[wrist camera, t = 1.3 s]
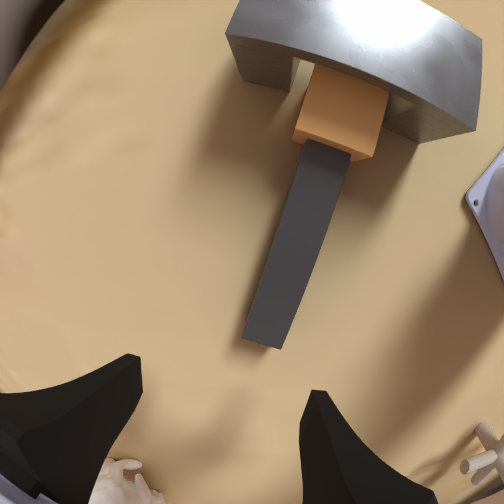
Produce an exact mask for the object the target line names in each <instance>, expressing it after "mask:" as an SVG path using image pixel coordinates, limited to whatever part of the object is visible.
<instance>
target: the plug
mask: <svg viewBox="0 0 504 504" xmlns="http://www.w3.org/2000/svg"><path fill="white" fill-rule="evenodd" d="M388 97H389V92H388V91H386V90H384V89H382V88H379V87H377V86H375V85H372V84H370V83H367V82H365V81H363V80H360V79H358V78H355V77H352V76H350V75H347V74H344V73H342V72H339V71H336V70H333V69H330V68H327V67H324V66H321V65H318V64H315V66H314V70H313V73H312V76H311V79H310V82H309V86H308V89H307V92H306V95H305V98H304V102H303V105H302V108H301V111H300V114H299V117H298V121H297V124H296V127H295V130H294V134H293V137H292V141H295V142H298V143H301V144H303V148H302V151H301V154H300V157H299V160H298V163H297V167H296V170H295V173H294V176H293V179H292V182H291V185H290V189H289V192H288V195H287V198H286V201H285V204H284V207H283V210H282V213H281V217H280V220H279V223H278V226H277V229H276V232H275V235H274V238H273V241H272V244H271V247H270V250H269V253H268V256H267V259H266V262H265V265H264V268H263V271H262V274H261V277H260V280H259V283H258V286H257V289H256V292H255V295H254V298H253V301H252V304H251V307H250V310H249V313H248V316H247V319H246V322H245V326H244V330H243V334H242V338H243V339H246V340H249V341H253V342H256V343H259V344H263V345H266V346H269V347H273V348H276V349H280V350H281V348H282V346H283V343H284V341H285V339H286V336H287V334H288V331H289V329H290V326H291V324H292V322H293V319H294V317H295V314H296V312H297V309H298V307H299V304H300V302H301V299H302V297H303V294H304V291H305V289H306V286H307V284H308V281H309V278H310V276H311V273H312V270H313V268H314V265H315V262H316V260H317V257H318V254H319V251H320V249H321V246H322V243H323V240H324V237H325V235H326V232H327V229H328V226H329V223H330V220H331V217H332V214H333V211H334V208H335V205H336V202H337V199H338V196H339V193H340V190H341V187H342V184H343V181H344V177H345V174H346V171H347V168H348V165H349V161H351V162H356V161H360V160H363V159H367V158H371V157H373V154H374V151H375V147H376V144H377V140H378V136H379V133H380V129H381V125H382V121H383V117H384V113H385V109H386V105H387V101H388Z"/></svg>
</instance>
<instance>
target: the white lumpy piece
mask: <svg viewBox="0 0 504 504" xmlns="http://www.w3.org/2000/svg"><path fill="white" fill-rule="evenodd" d="M141 467H142V463H141V462H140V461H137V460H133V459H122V460H119V461H116V462H115V460H114V459H112V458H106V459H105V461H104V463H103V465H102V468H101V470H100V473H99V475H98V478H97V480H96V483H95V485H94V488H93V491H92V494H91V497H90V500H89V503H88V504H165V502H164V500H166V498H165V497H164V494H163V492H164V491H163V492H162V493H159V492H157V491H156V490H149V488H148V486H147V484H146V482H145V480H144V478H143V477H142V475H141V474H136V475H135V483H133V482H131V481H128V480H125V478H124V477H123V469H127V470H134V469H139V468H141ZM162 494H163V495H162ZM163 499H164V500H163Z"/></svg>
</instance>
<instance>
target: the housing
mask: <svg viewBox="0 0 504 504" xmlns="http://www.w3.org/2000/svg"><path fill="white" fill-rule="evenodd" d="M225 35H226V37H227V40H228V42H229V45H230V47H231V50H232V52H233V55H234V57H235V60H236V63H237V65H238V68H239V71H240V73H241V76H242V79H243V80H244V81H248V82H253V83H257V84H261V85H265V86H269V87H272V88H276V89H280V90H283V91H287V92H290V90H291V87H292V83H293V80H294V77H295V74H296V71H297V68H298V65H299V62H300V59H302V60H305V61H309V62H312V63H315V64H318V65H321V66H324V67H327V68H330V69H333V70H336V71H339V72H342V73H344V74H347V75H350V76H352V77H355V78H358V79H360V80H363V81H365V82H367V83H370V84H372V85H375V86H377V87H379V88H382V89H384V90H386V91H388V92H389V97H388V101H387V105H386V109H385V113H384V117H383V121H382V125H381V126H383V127H385V128H387V129H390V130H392V131H394V132H396V133H398V134H400V135H403V136H405V137H407V138H409V139H411V140H413V141H415V142H417V143H419V144H421V143H425V142H429V141H433V140H437V139H441V138H446V137H450V136H455V135H459V134H464V133H468V132H473V131H476V125H477V118H478V110H479V101H480V90H481V75H482V39H481V38H479V37H478V36H477V35H475V34H474V33H472V32H471V31H469V30H468V29H466V28H465V27H463V26H462V25H460V24H459V23H457V22H456V21H454V20H452V19H451V18H449V17H448V16H446V15H444V14H443V13H441V12H439V11H437V10H436V9H434V8H432V7H430V6H428V5H426V4H425V3H423V2H421V1H419V0H240V1H239V3H238V5H237V7H236V10H235V12H234V14H233V16H232V18H231V21H230V23H229V25H228V28H227V30H226V32H225Z"/></svg>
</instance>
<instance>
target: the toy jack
mask: <svg viewBox="0 0 504 504" xmlns="http://www.w3.org/2000/svg"><path fill="white" fill-rule="evenodd" d="M475 433H476V435H477V436H478V438H479V440H480V441H481V443H482V445H483V446H484V448H485V450H486V451H485V452H482V453H480V454H477V455H475V456H472V457H469V458H467V459H464V460H463V461H462V462H461V464H460V470H461V473H462V474H464V475H466V474H468V473H471V472H473V471H476V470H477V472H476V473H475V474H474V475H473V477H472V478H471V482H472V484H473V485H480V484H481V483H482V482H483V481H484V480H485V479H486V478H487V476H488V475H489V474H490V473H491V472H492V470H493V469H494V468H495V467H496V469H497V471H498V473H499V475H500V477H501V478H502V480H503V482H504V434H503V436H502V437H501V439H500V440H498V438H497V437H496V435H495V434H494V432H493V431H492V429H491V428H490V426H489V425H488V423H487V422H486V421H484V422H482V423H480V424H479V425H478V426H477V427H476V429H475Z"/></svg>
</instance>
